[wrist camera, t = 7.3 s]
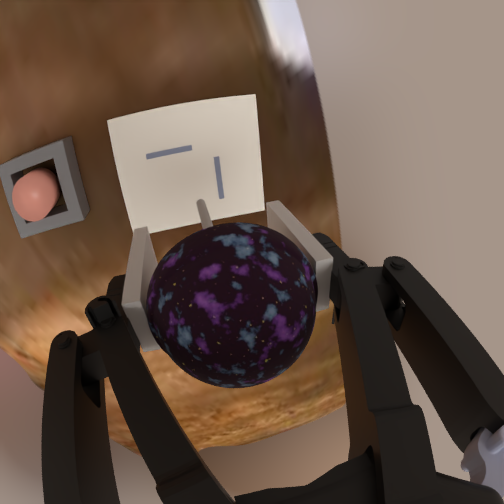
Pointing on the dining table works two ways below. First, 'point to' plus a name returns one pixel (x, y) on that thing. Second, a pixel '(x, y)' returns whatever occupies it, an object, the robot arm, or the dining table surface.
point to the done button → (36, 194)
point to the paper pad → (189, 161)
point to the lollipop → (232, 303)
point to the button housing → (68, 180)
